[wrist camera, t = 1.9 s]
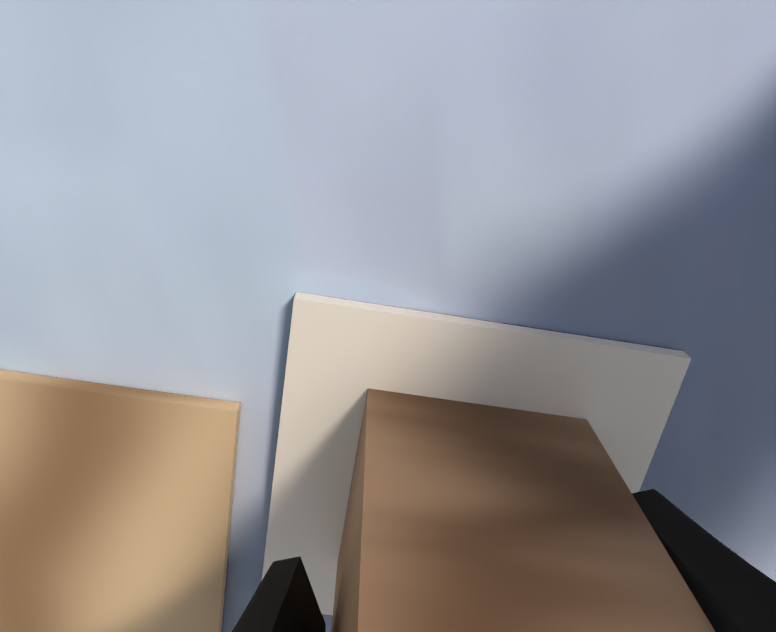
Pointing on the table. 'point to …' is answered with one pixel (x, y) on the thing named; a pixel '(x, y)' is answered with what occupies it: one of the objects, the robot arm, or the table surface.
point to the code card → (445, 381)
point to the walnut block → (497, 528)
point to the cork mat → (113, 507)
